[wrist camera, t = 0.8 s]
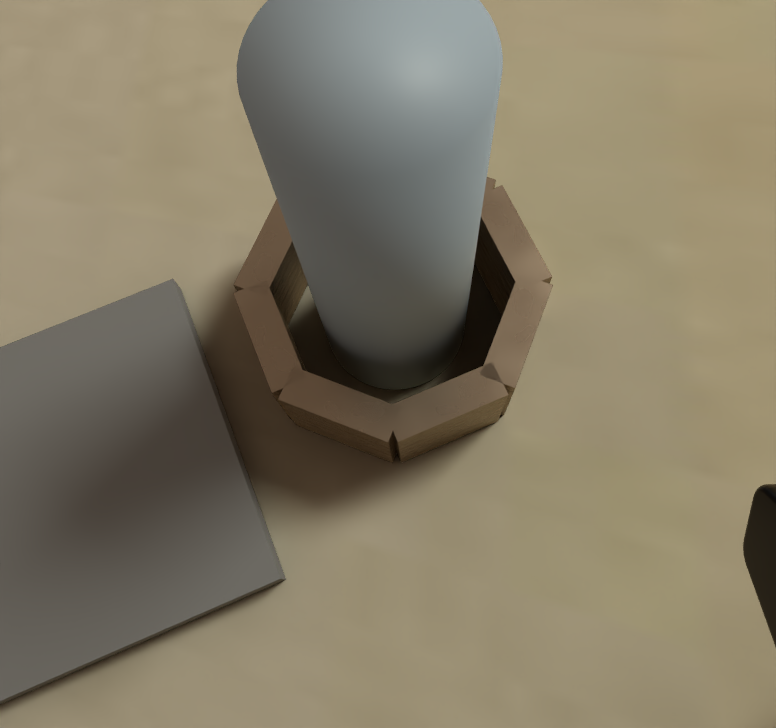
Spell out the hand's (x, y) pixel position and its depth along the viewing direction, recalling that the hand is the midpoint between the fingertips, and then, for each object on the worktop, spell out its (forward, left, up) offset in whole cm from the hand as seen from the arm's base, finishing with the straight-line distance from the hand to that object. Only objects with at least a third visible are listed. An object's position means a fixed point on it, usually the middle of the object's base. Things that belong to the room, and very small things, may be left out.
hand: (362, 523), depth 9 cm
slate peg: (+7, -3, -13) cm, 15 cm away
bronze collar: (+7, -3, -13) cm, 15 cm away
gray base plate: (+6, +8, -13) cm, 17 cm away
